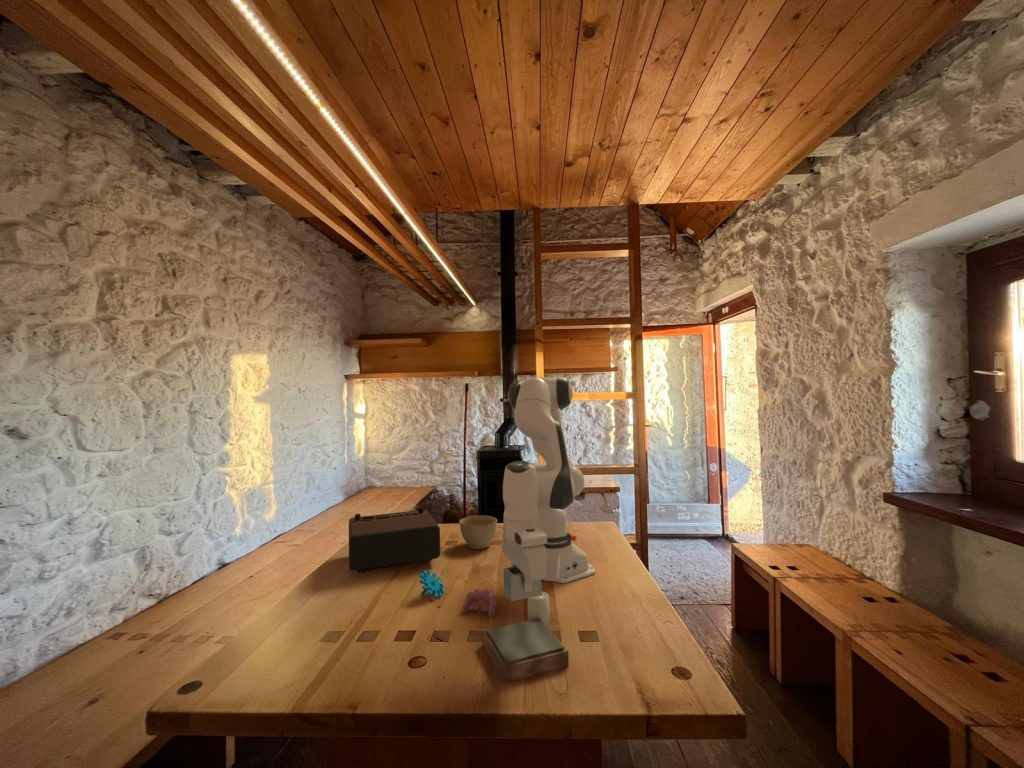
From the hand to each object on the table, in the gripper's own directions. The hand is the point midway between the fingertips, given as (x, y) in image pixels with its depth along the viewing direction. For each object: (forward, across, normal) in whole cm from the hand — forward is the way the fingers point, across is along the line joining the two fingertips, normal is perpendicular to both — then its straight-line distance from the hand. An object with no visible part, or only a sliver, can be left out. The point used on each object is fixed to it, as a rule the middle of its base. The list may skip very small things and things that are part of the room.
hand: (522, 584), depth 105 cm
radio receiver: (+17, -78, -23) cm, 83 cm away
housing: (+2, 0, 0) cm, 2 cm away
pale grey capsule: (+17, -11, +9) cm, 22 cm away
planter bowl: (+17, -80, +12) cm, 83 cm away
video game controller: (+17, -25, -4) cm, 30 cm away
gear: (+17, -42, -15) cm, 47 cm away
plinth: (+17, 0, 0) cm, 17 cm away
